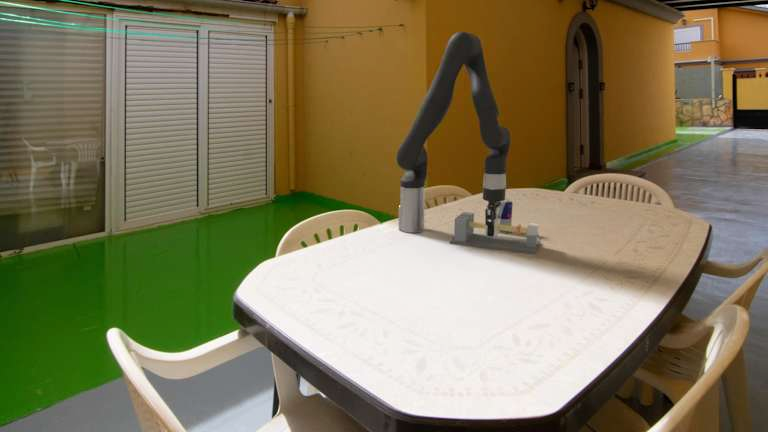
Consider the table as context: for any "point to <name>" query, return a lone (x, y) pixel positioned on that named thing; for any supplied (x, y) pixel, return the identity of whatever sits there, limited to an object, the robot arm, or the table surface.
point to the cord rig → (467, 225)
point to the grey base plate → (498, 243)
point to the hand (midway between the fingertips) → (492, 233)
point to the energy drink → (505, 214)
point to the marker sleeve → (494, 227)
